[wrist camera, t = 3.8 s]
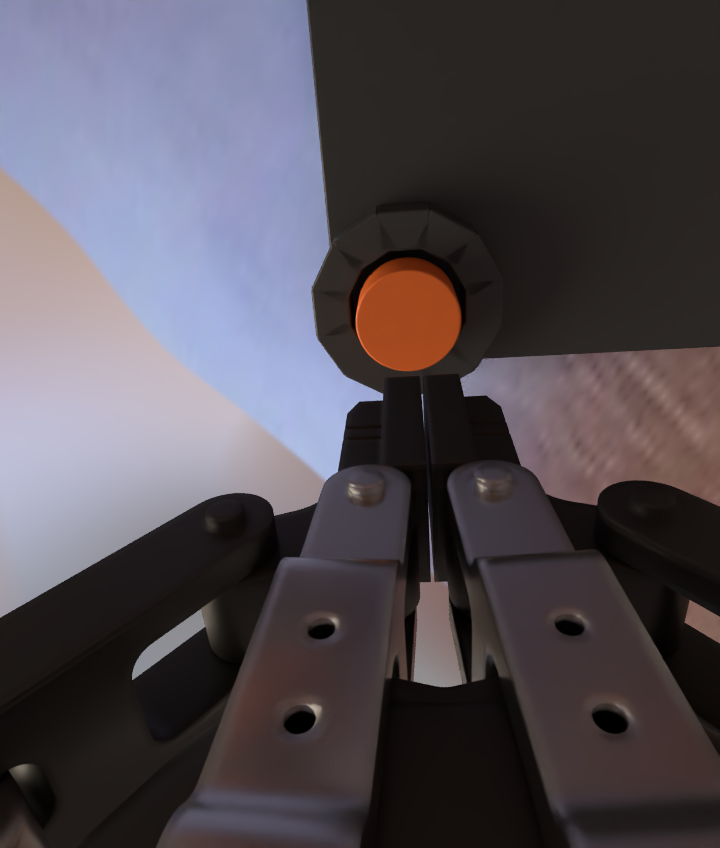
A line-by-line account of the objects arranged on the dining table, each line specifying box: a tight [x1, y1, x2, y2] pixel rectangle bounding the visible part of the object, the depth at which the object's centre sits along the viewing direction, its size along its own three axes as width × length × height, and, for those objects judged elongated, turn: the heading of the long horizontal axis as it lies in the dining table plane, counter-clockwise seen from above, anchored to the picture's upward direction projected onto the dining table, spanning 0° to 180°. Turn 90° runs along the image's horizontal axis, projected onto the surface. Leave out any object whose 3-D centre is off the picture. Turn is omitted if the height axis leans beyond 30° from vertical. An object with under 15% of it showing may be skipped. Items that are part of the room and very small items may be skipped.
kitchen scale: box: [306, 0, 720, 394], centre depth 19 cm, size 14×12×3 cm
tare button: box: [356, 257, 462, 371], centre depth 19 cm, size 3×3×2 cm
